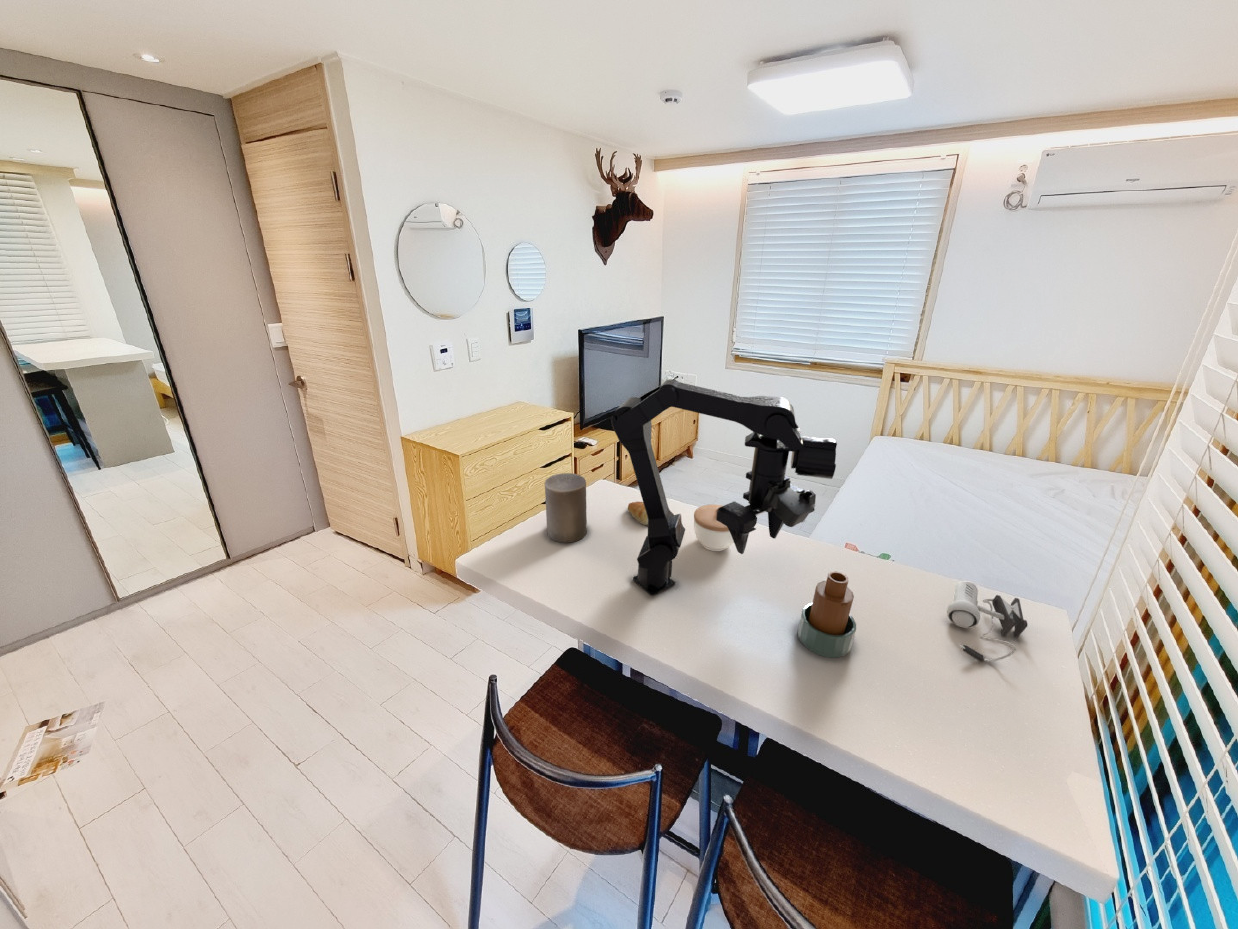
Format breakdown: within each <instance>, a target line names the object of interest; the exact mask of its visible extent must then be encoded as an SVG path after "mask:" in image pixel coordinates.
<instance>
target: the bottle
mask: <svg viewBox="0 0 1238 929" xmlns="http://www.w3.org/2000/svg"><path fill="white" fill-rule="evenodd" d="M848 584H849V577H848V576H847V575H846V574H845V573H842V572H841V571H830V572H829V573H827V577H826V580H821V581H820V582H817V584H816V586H815V590H814V594H813V598H812V602H811V603H812V607H811V611H810V616H809V620H808V622H809V624H810V625H811V626H813V627H814V628H816V629H817V630H819V631H821V632H823V633H826V634H830V635H835V636H838V635H844V632H845V629H846V625H847V621H848V617H849V614H850V615H851V609H852V605H853V602H854V599H855V596H854V592H853V591H852V589H851V588H850V587H849V586H848Z"/></svg>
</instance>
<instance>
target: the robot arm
mask: <svg viewBox="0 0 1238 929" xmlns="http://www.w3.org/2000/svg"><path fill="white" fill-rule="evenodd" d="M670 408H676V409H680V410H684V411H687V412H693V413H697V414H701V415H706V416H709V417H713V418H718V419H720V420H726V421H730V422H734V423H736V424H740V425H742V426H743V427H745V428H746V429H748V430H750V431H751V433H750V434H748V435H745V438H744V446H745V447H749V448H754V451H753V458H752V466H751V470H750V471H747V472H746V473H745V479H747V480H748V481H749V485H748V486H749V488H748V491H745V492H743V494H742V499H743V500H746V501H748V505H743V504H740V503H739V502H736V501H732V502H729V503H727V504H724V505H723V506H722V507H720V508H718V509H717V515H716V520H717V521H719V522H720V523H722V524H724V525H726V526H727V528H728V530H729V532H730V534H731V536H732V539H733V541H734V543H733V544H734V546H735V548H736V551H737V553H739V554H740V555H744V553H745V551H746V547H747V544H748V539H749V535H750V533H752V532H754V531H756V530H757V528H756V527H755V526H756V525H757V522H758V517H757V516H759V515H762V514H764V513H767V520H768V523H767V524H768V533H769V537H770V538H771V539H776V538H777V536H778V535H779V533H780V531H781V529H782V528H783V526H784V525H785V526H786V527H789V528H793V527H795V526H797V525H799V524H800V523H804V522H805V520H807V517H808V516H809V514H812V513H813V512H815V511H816V509H815V507H816V496H817V494H816V493H815V492H814V491H813V490H811V489H808V490H805V489H803V488H801V487H799V486H796V485H795V484H792V483H791V480H790V479H791V478H790V477H789V476H787V475H786V472H787V467H788V461H789V455H790V452H791V456H790V457H791V458H790V469H793V470H794V473H795V474H796V475H797V476H802V477H803V476H804V477H809V478H810V477H811V478H819V479H826V480H832V479H833V478H834V475H835V472H836V467H837V463H836V458H837V446H838V443H837V440H836V438H831V437H824V438H821V437H820V438H819V437H812V436H803V435H802V434H803V433H802V429H801V428H800V427H799V425H798V424H797V422H796V415H795V409H794V406H793V405H792V403H791V402H790V400H788V399H787V398H784V397H781V396H770V395H769V396H768V395H757V396H755V395H754V396H743V395H742V396H741V395H737V394H732V393H728V392H724V391H719V390H715V389H710V388H706V387H702V386H698V385H693V384H689V383H685V382H680V381H678V380H676V379H673V378H672V379H666V380H665V381H664V382H663V383H661V384H660V385H659V386H656V387H654V388H653V389H651V390H649V391H647V392H646V393H644V394H642V395H641V396H639V397H638V396H632V397H628V398H626V399H625V400H624V401H623V402H622V403H621V404H620V405H619V406H618V407H617V408H616V410H615V411H614V413H613V414H612V416H611V418H610V421H611V426H612V429H613V432H614V433H615V435H616V437H617V439H618V441H619V443H620V444H621V445H622V447H623V448H624V449H625V450H626V452H628V455H629V458H630V461H631V465H632V469H633V472H634V476H635V478H636V482H637V485H638V490H639V492H640V496H641V500H642V502H643V503H644V507H645V510H646V514H647V517H648V525H647V535H646V537H645V539H644V541H643V544H642V546H641V549H640V551H639V553H638V556H637V558H636V560H637V566H638V567H637V575H635V576H633V577H632V581H633V582H634V583H636V584H637V585H638V586H639V587H640V588H642V589H643V590H644V591H645V592H647V593H648V594H649V596H655V595H657V594H659V593H661V592H663V591H665V590H667V589H670V588H671V587H673V586H675V585H676V581H675V580H674V579H672V572H673V560H675V559H676V558H677V556H678V554H679V550H680V548H681V546H682V542H683V540H684V535H685V533H686V528H685V527H684V525H683V522H682V521H683V520H682V513H676V514H674V513H673V512H672V510H670V507H669V504H668V501H667V497H666V493H665V490H664V486H663V482H662V479H661V474H660V471H659V468H658V464H657V460H656V456H655V453H654V449H653V446H652V429H653V428H652V426H653V425H652V420H654V419H655V418H656V417H657V416H659V415H661V414H662V413H664V411H666V410H669V409H670Z"/></svg>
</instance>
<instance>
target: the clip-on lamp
mask: <svg viewBox="0 0 1238 929" xmlns="http://www.w3.org/2000/svg"><path fill="white" fill-rule="evenodd" d="M978 595H979V590H978V586H977V585H976V584H975V583H973V582H971V581H968V580H962V581H959V582H957V583H956V585H955V589H954V594H953V601H952V602H951V603H950V604H949V605H948V606H947V610H946V616H947V619H948V620H949V621H950V622H951V623H952V624H953V625H955V626H957V627H958V628H959V627H960V628H963V629H972V628H975V627H976V626H977V625H978V624H979V623H980V620H981V613H983V614H986V615H989V616H990V622H991V628H990V629H989V630H988V631H986V632H984V633H982V634H980V635H979V637H978V638H979V639H981V640H984V641H988V642H994V643H1000V644H1004V645H1008V646H1010V647H1012V651H1011V652H1009V653H1007V654H1004V655H1002V656H1000V657H996V658H995V657H994V658H986V657H984V655H983V654H981V653H980V652H978V651H976V650H975V649H973V648H972V647H970V646H968V645H967V644H963V645H961V644H959V645H958V647H959V648H961V649H962V652H964V653H966V654H967V655H969V656H970V657H973V658H974V659H976V660H978V661H979V662H997V661H1000V660H1004V659H1006V658H1008V657H1010V656H1012V655H1014V654H1015V653H1016V651H1017V647H1016V646H1015V645H1014V643H1012V642H1009V641H1005V640H1002V639H997V638H992V637H986V635H988V634H990V633H991V632H992V631H993V630H994V629H995V628H994V627H995V624H994V618H996V619H998V622H999V623H1000V626H1001V630H1000V633H1001V636H1002V637H1007V636H1008V635H1009V633H1010V632H1011V631H1012V630H1013V629H1014V630H1013V632H1012V634H1013V638H1014V639H1018V638H1019V637H1020V636H1021V635H1022V634H1023V632H1024V631H1025V630H1026V629H1027V627H1028V626H1029V625H1028V621H1027V620H1026V619H1024V615H1023V610H1022V606H1021V601H1020V599H1019V598H1018V597H1014V599H1013V600H1012V601H1011V603H1009V602H1008V601H1006V600H1005V599H1003V598H1002V596H1001V595H1000V594H996V595H995V596H994V598H985V599H982V602H983V603H984V604H988V605H989V607H990V609H989V608H986V607H984V606H981V605H979V600H978V597H979V596H978Z"/></svg>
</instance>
